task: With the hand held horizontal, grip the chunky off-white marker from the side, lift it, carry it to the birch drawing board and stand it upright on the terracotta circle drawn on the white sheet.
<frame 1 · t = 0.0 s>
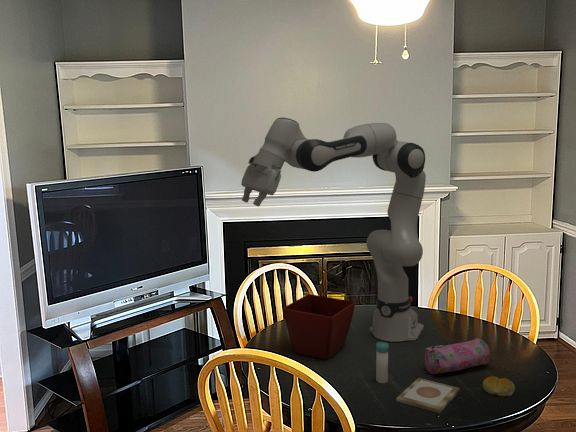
hand: (250, 203, 193), 54 cm above the table, tool tilted 30°, fingers open, 8 cm apart
pencil case: (455, 369, 197), on the table
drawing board: (428, 396, 178), on the table
bread roll: (498, 391, 181), on the table
plant pot: (319, 351, 213), on the table
marker: (382, 380, 189), on the table
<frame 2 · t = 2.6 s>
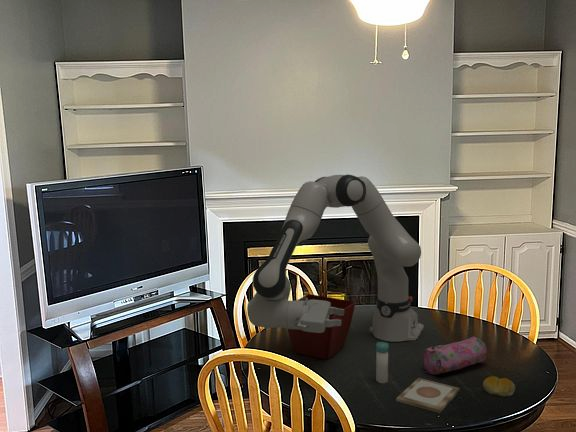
hand: (342, 317, 188), 20 cm above the table, tool horizontal, fingers open, 8 cm apart
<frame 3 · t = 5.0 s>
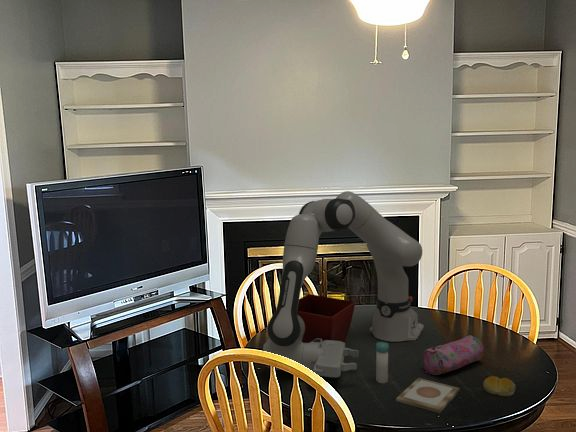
hand: (357, 359, 189), 6 cm above the table, tool horizontal, fingers open, 8 cm apart
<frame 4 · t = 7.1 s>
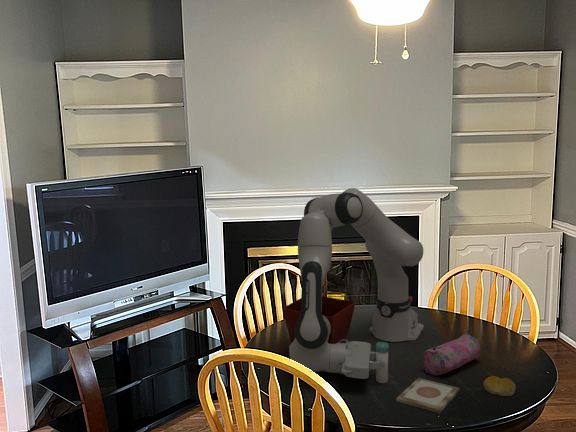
hand: (385, 361, 188), 7 cm above the table, tool horizontal, fingers closed on marker, 4 cm apart
marker: (382, 380, 189), on the table, touching gripper
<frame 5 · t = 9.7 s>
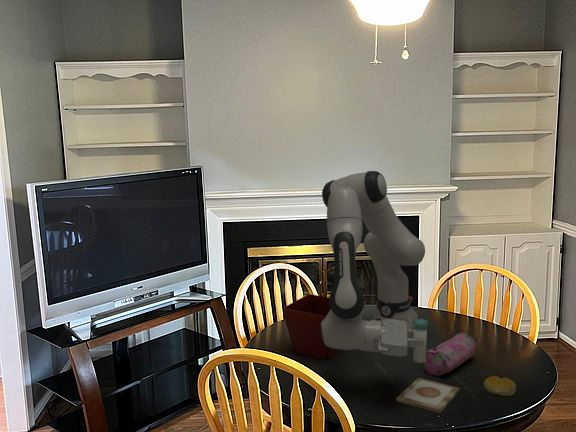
hand: (423, 339, 177), 17 cm above the table, tool horizontal, fingers closed on marker, 4 cm apart
marker: (419, 360, 178), point 11 cm above the table, touching gripper
when the fingers open (9 cm above the table, at t = 12.2 s): marker drops 1 cm, resting on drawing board.
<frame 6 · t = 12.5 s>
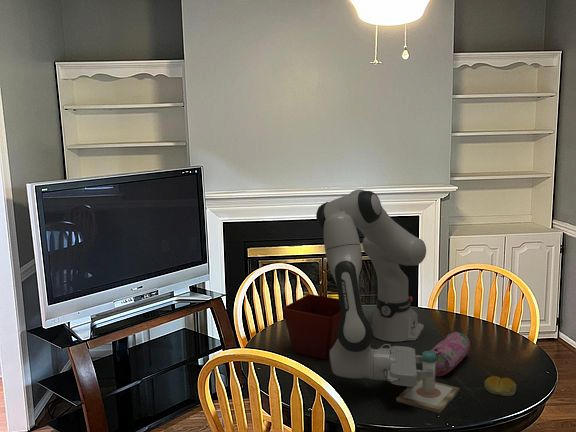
hand: (432, 367, 176), 9 cm above the table, tool horizontal, fingers open, 7 cm apart
marker: (428, 392, 178), point 1 cm above the table, touching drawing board
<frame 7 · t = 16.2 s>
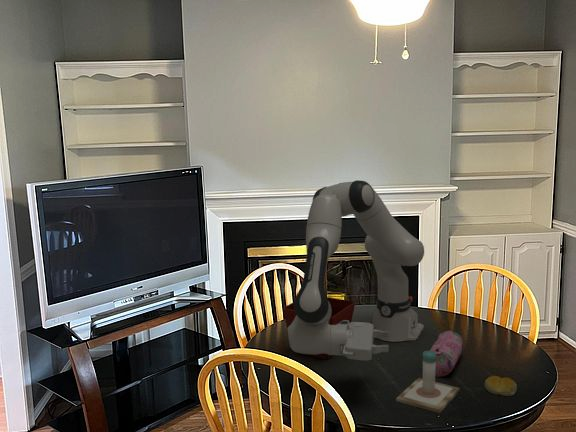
hand: (388, 341, 178), 16 cm above the table, tool horizontal, fingers open, 8 cm apart
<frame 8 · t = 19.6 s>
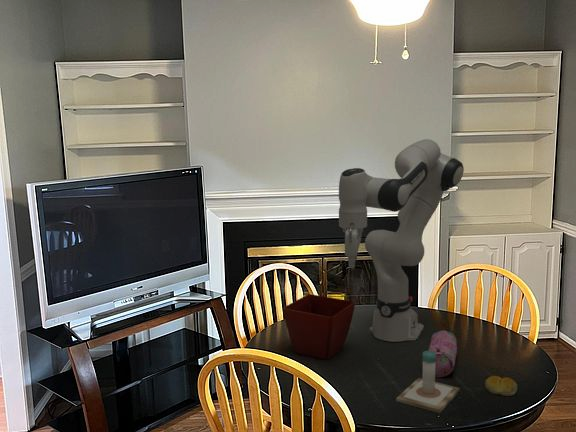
hand: (352, 263, 192), 35 cm above the table, tool pointing down, fingers open, 8 cm apart
at the end: marker 0.0 cm off-centre on the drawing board, point 1.3 cm above the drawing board's base; marker tilted 0°; the gripper is holding nothing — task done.
